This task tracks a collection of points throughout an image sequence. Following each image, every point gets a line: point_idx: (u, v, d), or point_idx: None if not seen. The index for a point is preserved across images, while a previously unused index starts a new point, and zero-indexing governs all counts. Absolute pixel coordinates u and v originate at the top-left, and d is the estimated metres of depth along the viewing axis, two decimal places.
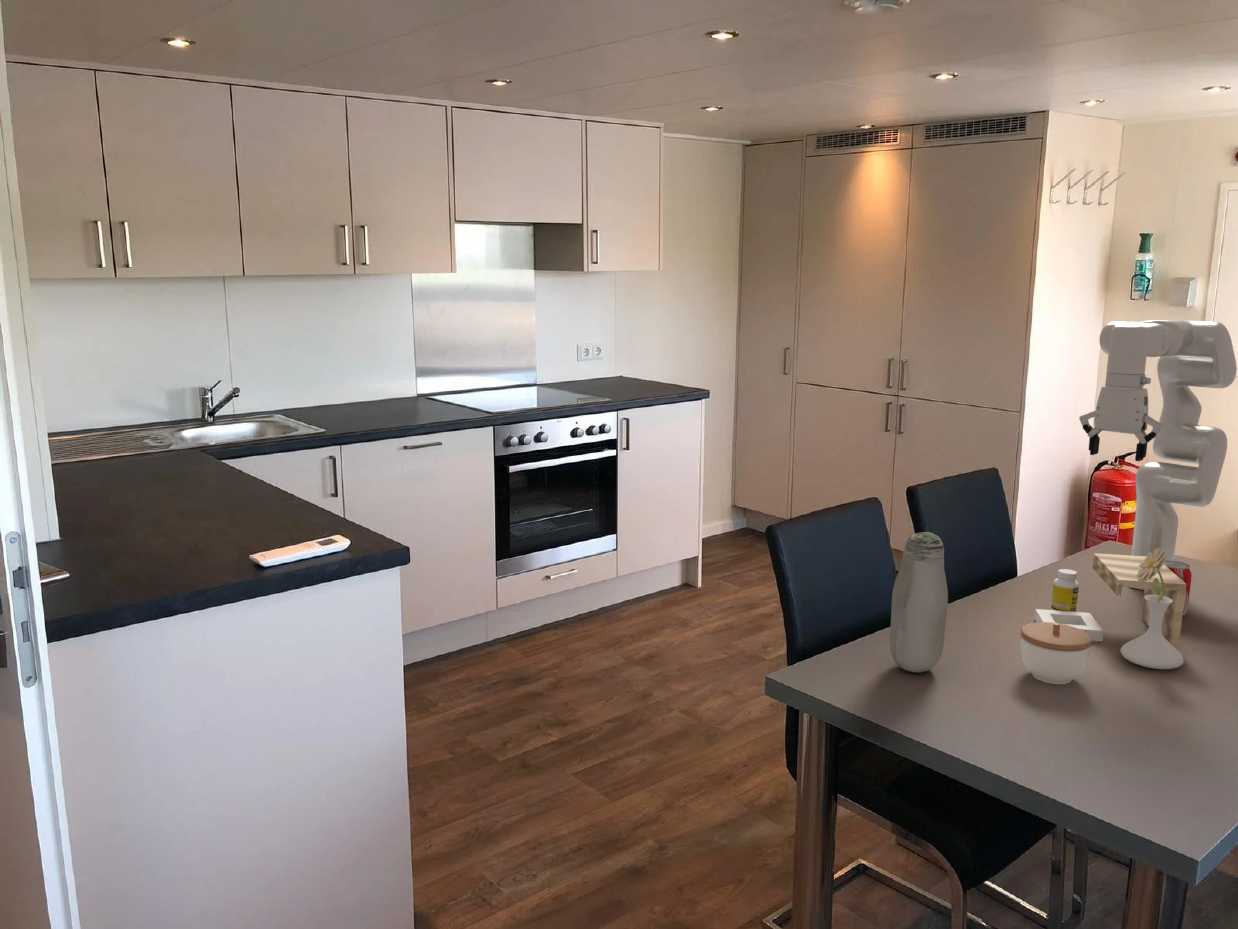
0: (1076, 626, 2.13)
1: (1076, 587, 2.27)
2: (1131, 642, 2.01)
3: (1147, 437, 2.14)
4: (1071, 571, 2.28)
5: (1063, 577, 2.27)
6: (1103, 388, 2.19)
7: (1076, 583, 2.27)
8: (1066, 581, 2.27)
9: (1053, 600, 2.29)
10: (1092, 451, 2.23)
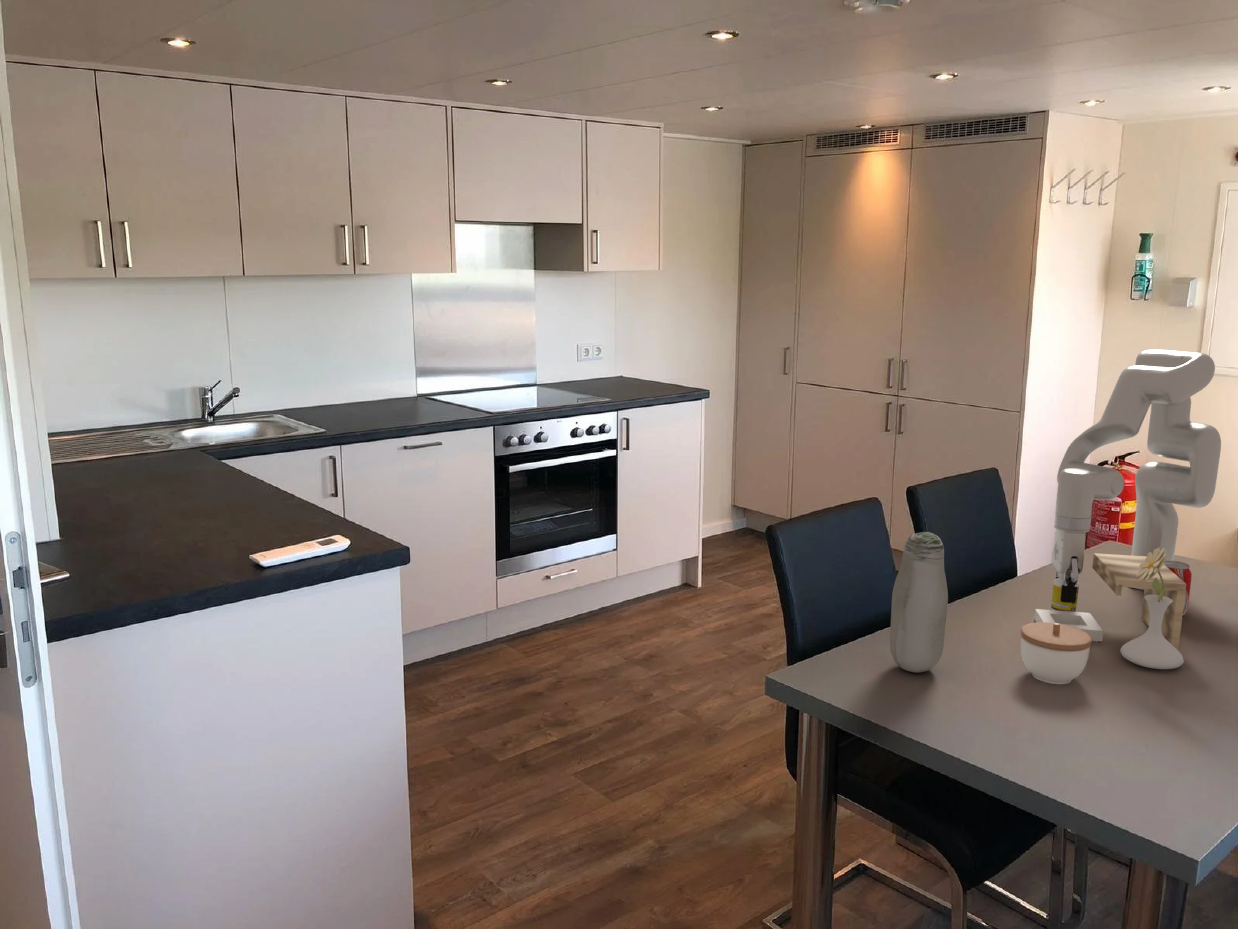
0: (1076, 626, 2.13)
1: None
2: (1131, 642, 2.01)
3: None
4: None
5: (1063, 577, 2.27)
6: None
7: None
8: None
9: (1053, 600, 2.29)
10: None
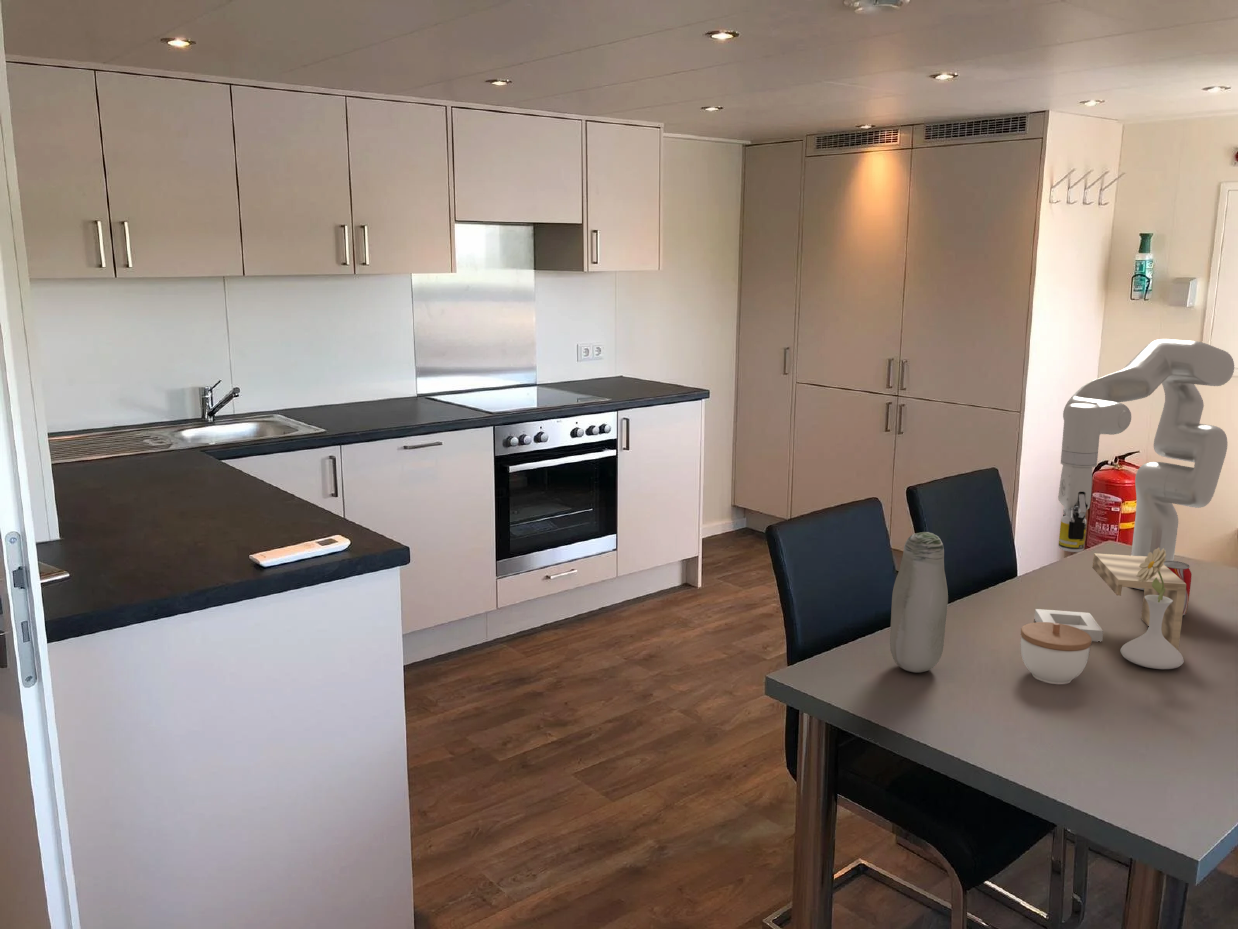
0: (1076, 626, 2.13)
1: None
2: (1131, 642, 2.01)
3: None
4: (1078, 508, 2.25)
5: (1070, 514, 2.24)
6: None
7: None
8: None
9: (1061, 538, 2.27)
10: None
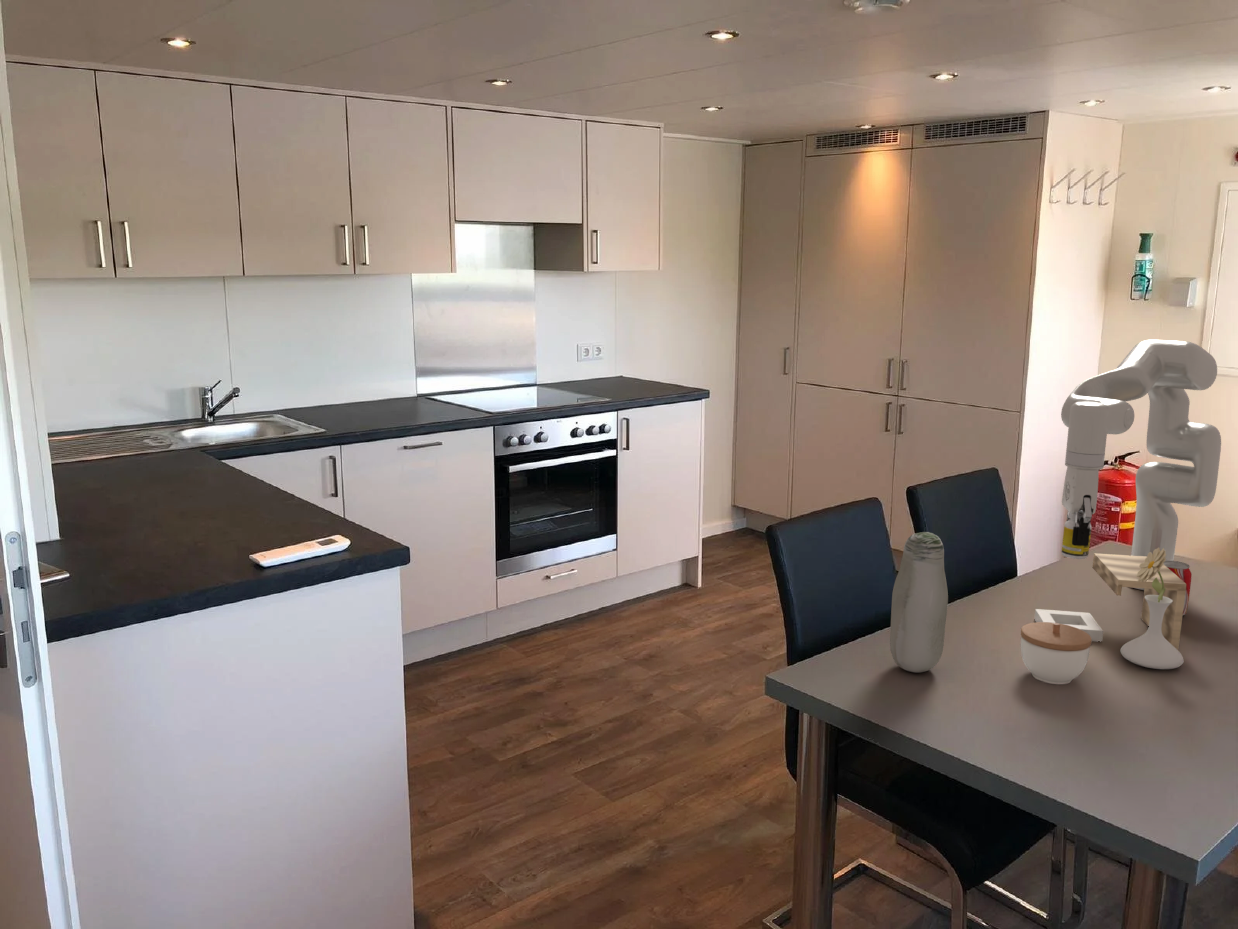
0: (1076, 626, 2.13)
1: None
2: (1131, 642, 2.01)
3: None
4: (1083, 512, 2.13)
5: None
6: (1098, 471, 2.07)
7: None
8: None
9: (1064, 544, 2.14)
10: None
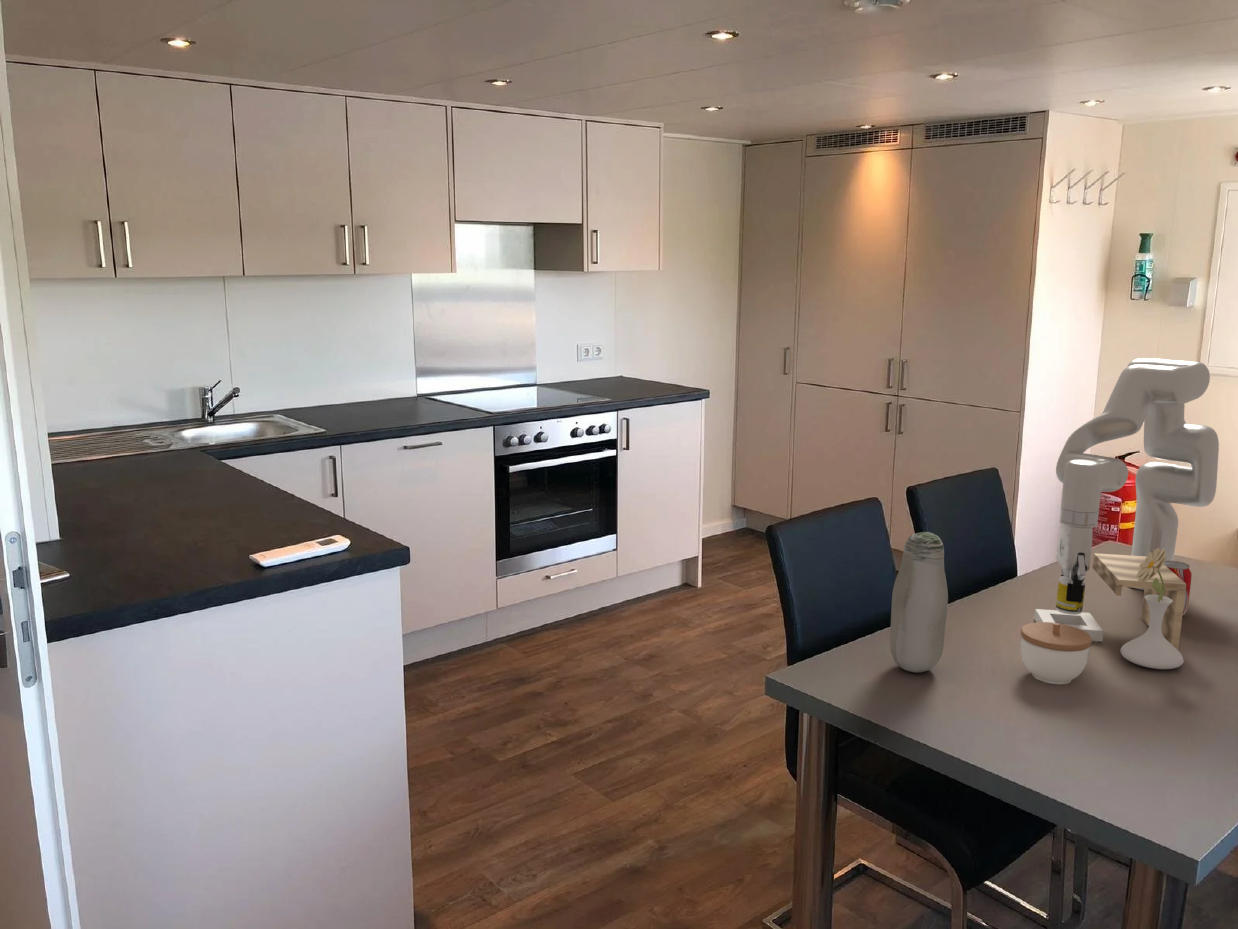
0: (1076, 626, 2.13)
1: None
2: (1131, 642, 2.01)
3: None
4: (1077, 568, 2.15)
5: (1069, 575, 2.14)
6: None
7: None
8: None
9: (1058, 599, 2.16)
10: None
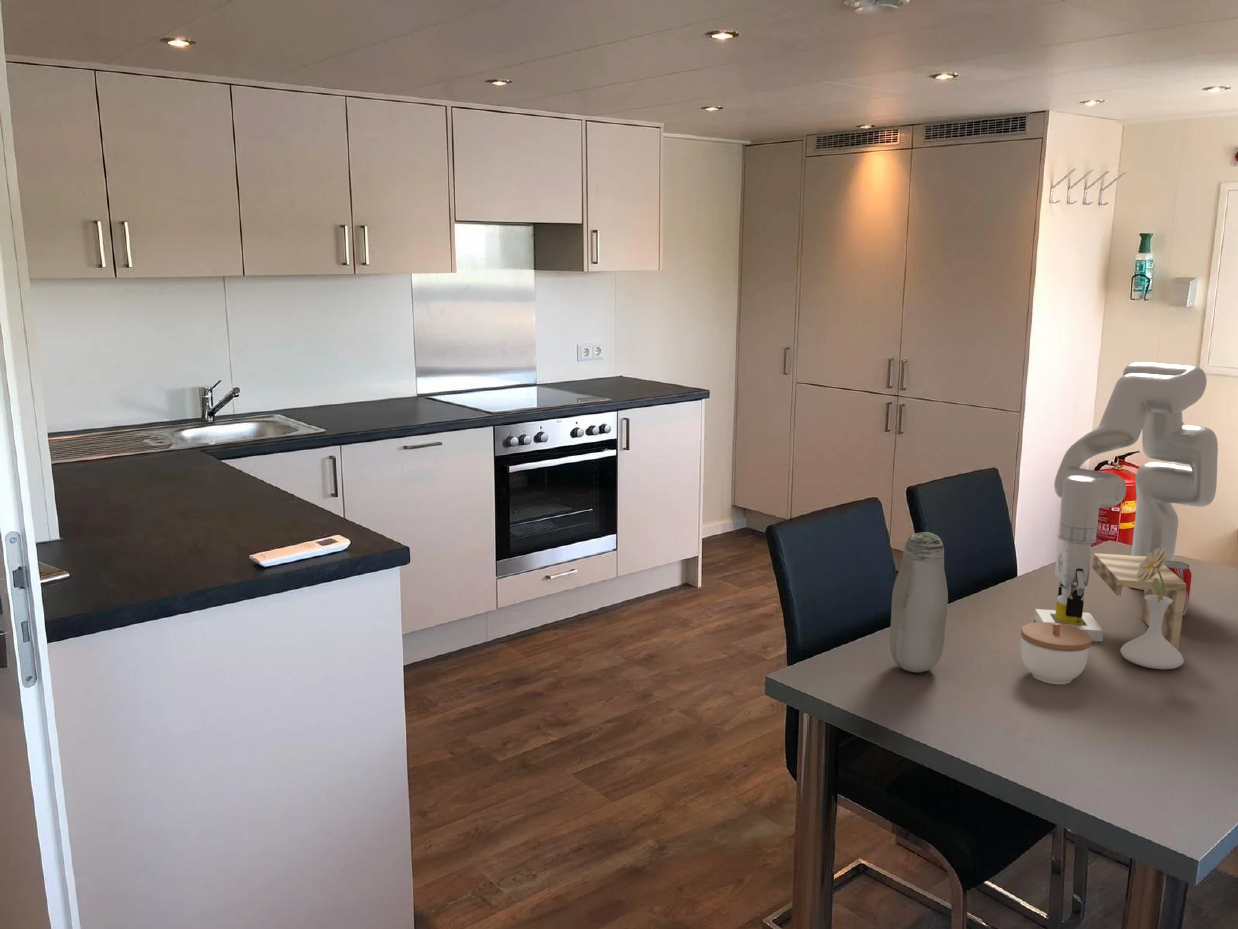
0: (1076, 626, 2.13)
1: None
2: (1131, 642, 2.01)
3: None
4: (1075, 588, 2.16)
5: (1067, 594, 2.15)
6: (1090, 545, 2.10)
7: None
8: None
9: (1057, 618, 2.17)
10: None
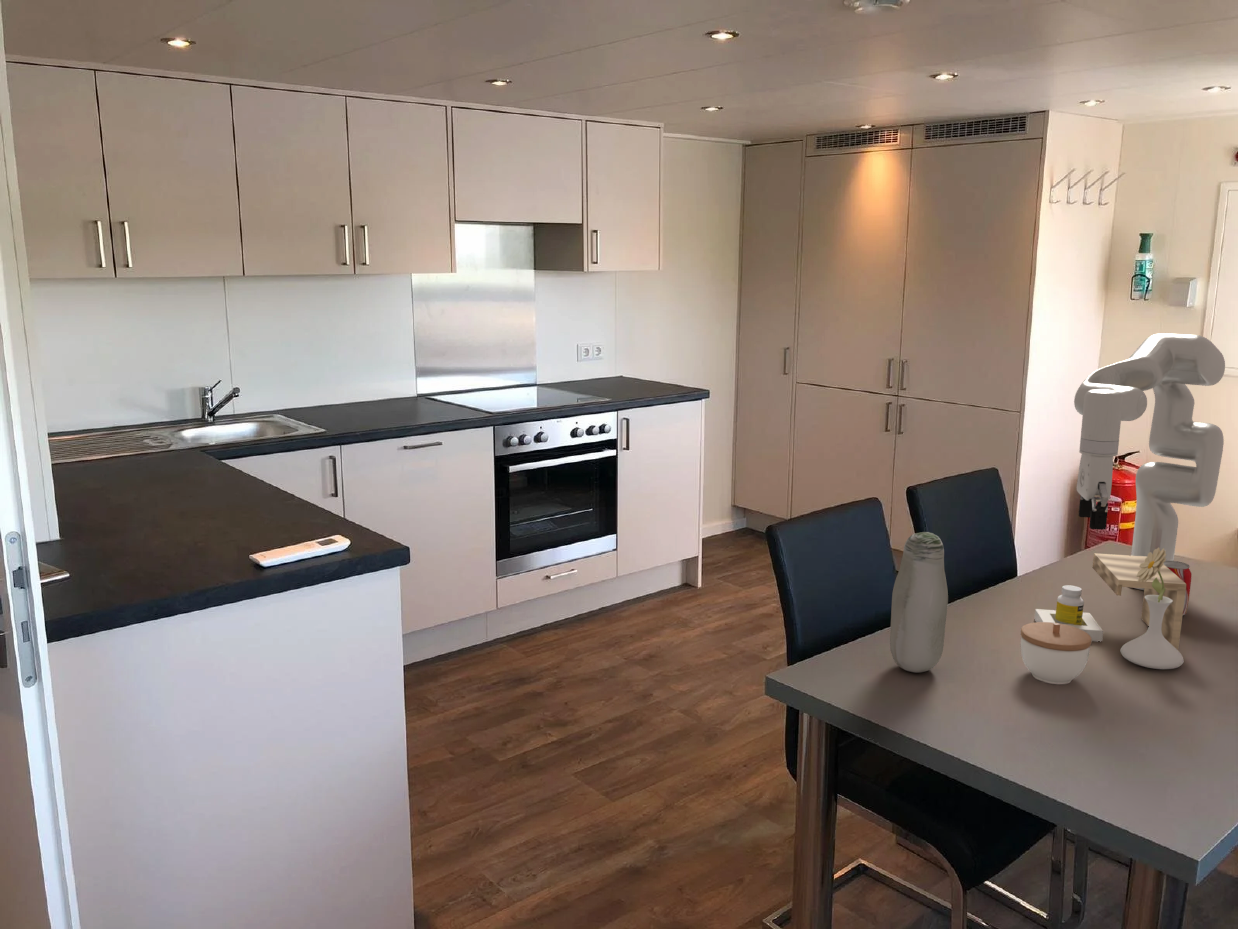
0: (1076, 626, 2.13)
1: (1080, 605, 2.15)
2: (1131, 642, 2.01)
3: None
4: (1075, 588, 2.16)
5: (1067, 594, 2.15)
6: (1112, 458, 2.10)
7: (1081, 600, 2.15)
8: (1070, 598, 2.15)
9: (1057, 618, 2.17)
10: None
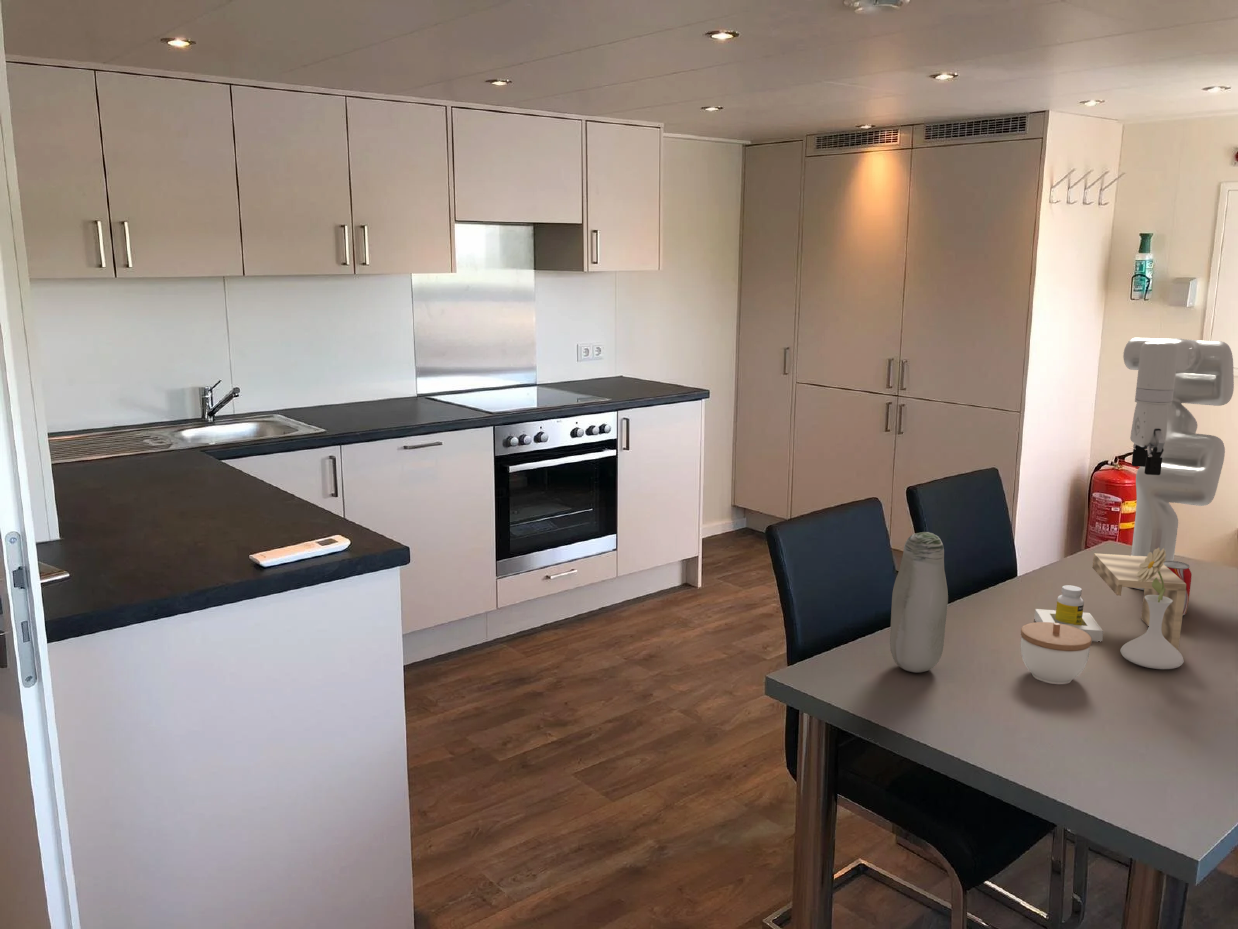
0: (1076, 626, 2.13)
1: (1080, 605, 2.15)
2: (1131, 642, 2.01)
3: None
4: (1075, 588, 2.16)
5: (1067, 594, 2.15)
6: (1168, 406, 2.19)
7: (1081, 600, 2.15)
8: (1070, 598, 2.15)
9: (1057, 618, 2.17)
10: None
